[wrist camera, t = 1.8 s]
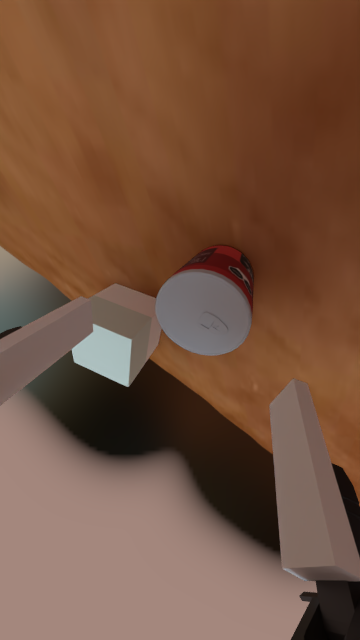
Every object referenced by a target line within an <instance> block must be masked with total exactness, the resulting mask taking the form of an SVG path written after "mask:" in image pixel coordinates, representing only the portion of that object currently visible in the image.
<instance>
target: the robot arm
mask: <svg viewBox="0 0 360 640" xmlns="http://www.w3.org/2000/svg"><path fill="white" fill-rule="evenodd" d="M92 332H93V320H92V308H91V300H89V299H87V298H84V297H82V296H81V297H79V298H77V299H75V300H73V301H71V302H69V303H67V304H66V305H64V306H62V307H60V308H58V309H56V310H55V311H52V312H51V313H49V314H47V315H45V316H43V317H41V318H39V319H37V320H36V321H34V322H32V323H30V324H28V325H26V326H24V327H21V326H20V327H16V328H12V329H9V330H6V331H4V332H2V333H1V334H0V405H2V404H3V403H4V402H5V401H7V400H8V399H9V398H11V397H12V396H13V395H14V394H16V393H17V392H18V391H19V390H21V389H22V388H23V387H24V386H26V385H27V384H28V383H29V382H31V381H32V380H33V379H34V378H36V377H37V376H38V375H39V374H41V373H42V372H43V371H45V370H46V369H47V368H48V367H50V366H51V365H52V364H53V363H55V362H56V361H57V360H58V359H60V358H61V357H62V356H63V355H65V354H66V353H67V352H69V351H70V350H71V349H72V348H74V347H75V346H76V345H77V344H79V343H80V342H81V341H82V340H84V339H85V338H86V337H87V336H89V335H90V334H91V333H92ZM270 418H271V431H272V444H273V456H274V469H275V482H276V495H277V508H278V521H279V533H280V545H281V558H282V568H283V569H284V570H286V571H288V572H289V573H291V574H293V575H295V576H297V577H299V578H300V579H302V580H304V581H316V585H317V592H318V593H312V592H303V593H302V594H301V595H300V598H301V600H302V601H308V602H310V603H309V605H308V607H307V609H306V611H305V613H304V615H303V617H302V619H301V621H300V623H299V625H298V627H297V629H296V631H295V632H294V634H293V637H292V638H291V640H360V507H359V501H358V498H357V496H356V493H355V490H354V487H353V485H352V483H351V481H350V480H349V478H348V476H347V475H346V473H345V472H344V470H343V468H341V467H339V466H337V465H335V464H332V463H331V461H330V457H329V454H328V450H327V447H326V444H325V440H324V437H323V434H322V430H321V427H320V424H319V420H318V417H317V414H316V410H315V407H314V404H313V400H312V397H311V394H310V390H309V387H308V384H307V383H304V382H302V381H299V380H296V379H294V378H293V379H292V380H291V381H290V383H289V384H288V385H287V386H286V387H285V388H284V389H283V390H282V391H281V393H280V394H279V395H278V396H277V397H276V398H275V399H274V400H273V402H272V403H271V404H270Z"/></svg>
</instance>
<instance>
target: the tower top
mask: <svg viewBox="0 0 360 640" xmlns="http://www.w3.org/2000/svg"><path fill="white" fill-rule="evenodd" d="M88 299H89V300H91V308H92V320H93V332H92V333H91V334H90V335H89V336H87V337H86V338H85V339H84V340H82V341H81V342H80V343H79V344H77V345H76V346H75V347H74V348H72V353H73V358H74V362H75V363H77V364H79V365H82V366H84V367H86V368H88V369H90V370H92V371H95V372H97V373H99V374H101V375H103V376H105V377H108V378H110V379H112V380H114V381H116V382H118V383H121V384H123V385H125V386H127V387H129V385H130V384H131V383H132V381H133V380H134V378H135V377H136V375H137V374H138V373H139V371H140V370H141V368H142V367H143V365H144V364H145V363H146V356H147V349H148V342H149V335H150V328H151V321H152V317H149V316H146V315H144V314H141V313H139V312H136V311H134V310H131V309H128V308H126V307H123V306H121V305H118V304H116V303H113V302H110V301H108V300H105V299H103V298H100V297H98V296H95V295H94V296H92V297H90V298H88Z"/></svg>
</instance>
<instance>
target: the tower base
mask: <svg viewBox="0 0 360 640" xmlns="http://www.w3.org/2000/svg"><path fill="white" fill-rule="evenodd" d="M95 296H98V297H100V298H103V299H105V300H108V301H110V302H113V303H116V304H118V305H121V306H123V307H126V308H128V309H131V310H134V311H136V312H139V313H141V314H144V315H146V316H149V317H152V321H151V328H150V335H149V342H148V349H147V356H146V361H147V360H148V358H149V357H150V355H151V354H152V353H153V351H154V350H155V348H156V347H157V345H158V344H159V338H160V333H161V326H160V324H159V322H158V319H157V315H156V311H155V303H156V298H154V297H151V296H149V295H146V294H143V293H141V292H138V291H135V290H132V289H130V288H127V287H124V286H122V285H119V284H116V283H115V284H113V285H111V286H109V287H108V288H106V289H104V290H102V291H101V292H99V293H97V294H95Z"/></svg>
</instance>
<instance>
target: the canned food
mask: <svg viewBox="0 0 360 640" xmlns="http://www.w3.org/2000/svg"><path fill="white" fill-rule="evenodd" d="M253 282H254V275H253V269H252V266H251V264H250V262H249V261H248V259H247V258H246V257H245V256H244V255H243V254H242V253H241V252H239V251H238V250H236V249H234V248H231V247H229V246H222V245H221V246H212V247H208V248H206V249H204V250H202V251H201V252H200V253H198V254H197V255H196V256H195V257H194V258H192V259H191V260H190V261H189V262H188V263H186V264H185V265H184V266H183V267H182V268H180V269H179V270H178V271H177V272H176V273H174V274H173V275H172V276H171V277H170V278H169V279H168V280H167V281H166V282H165V283H164V285H163V286H162V287H161V289H160V291H159V293H158V295H157V298H156V303H155V311H156V315H157V319H158V322H159V324H160V326H161V328H162V329H163V331H164V332H165V333H166V335H167V336H168V337H169V338H170V339H171V340H172V341H174V342H175V343H176V344H177V345H179V346H181V347H182V348H184V349H186V350H188V351H190V352H194V353H197V354H201V355H221V354H225V353H228V352H231V351H232V350H234V349H236V348H238V347H239V346H240V345H241V344H242V343H243V342H244V340H245V339H246V337H247V336H248V333H249V330H250V327H251V323H252V311H253Z"/></svg>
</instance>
